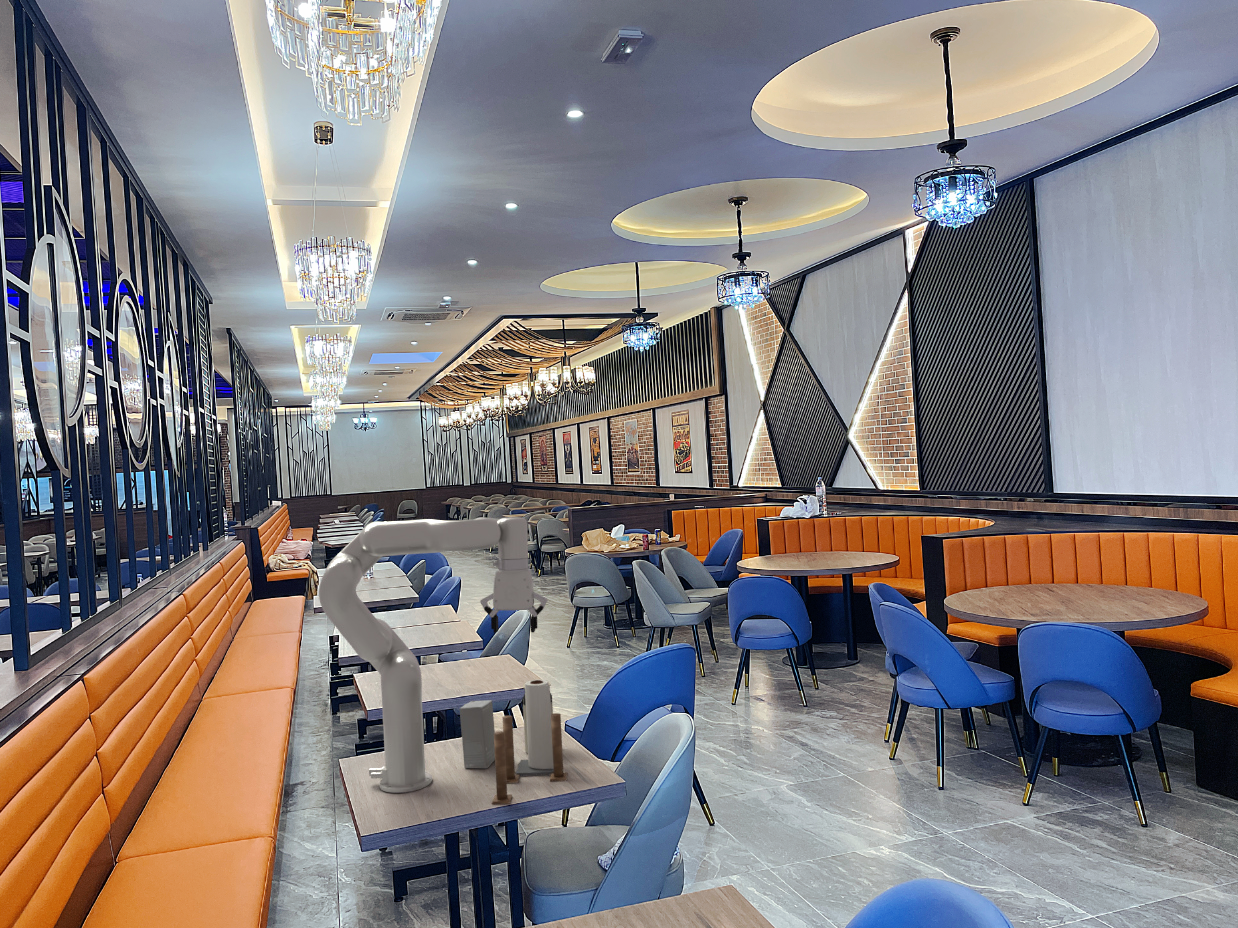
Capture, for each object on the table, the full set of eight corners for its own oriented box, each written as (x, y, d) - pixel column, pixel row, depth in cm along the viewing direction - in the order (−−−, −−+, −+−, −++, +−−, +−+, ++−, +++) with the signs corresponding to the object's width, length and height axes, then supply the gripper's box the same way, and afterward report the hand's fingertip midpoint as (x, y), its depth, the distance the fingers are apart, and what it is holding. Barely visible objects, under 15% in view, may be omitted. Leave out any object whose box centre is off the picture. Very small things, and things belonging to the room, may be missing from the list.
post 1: (492, 804, 195) (489, 735, 195) (495, 797, 199) (491, 730, 199) (509, 803, 195) (506, 735, 195) (512, 796, 199) (508, 729, 199)
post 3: (550, 781, 208) (546, 717, 208) (551, 775, 212) (548, 712, 212) (566, 780, 208) (563, 716, 208) (567, 774, 212) (564, 711, 212)
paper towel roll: (527, 762, 220) (523, 679, 220) (551, 760, 221) (547, 677, 221) (529, 772, 213) (525, 686, 213) (553, 769, 214) (549, 684, 214)
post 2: (501, 783, 208) (497, 719, 208) (503, 777, 212) (500, 714, 212) (517, 782, 208) (514, 718, 208) (519, 776, 212) (516, 714, 212)
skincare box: (487, 769, 219) (484, 707, 219) (460, 768, 220) (457, 707, 221) (498, 758, 227) (495, 698, 227) (472, 757, 229) (470, 698, 229)
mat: (515, 776, 213) (515, 773, 213) (521, 762, 223) (520, 759, 223) (555, 774, 212) (555, 771, 212) (559, 760, 222) (559, 757, 222)
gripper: (477, 567, 216) (478, 634, 216) (544, 566, 216) (545, 634, 215) (483, 564, 224) (484, 629, 224) (548, 563, 223) (549, 628, 223)
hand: (514, 631), depth 219 cm, fingers open, 9 cm apart
